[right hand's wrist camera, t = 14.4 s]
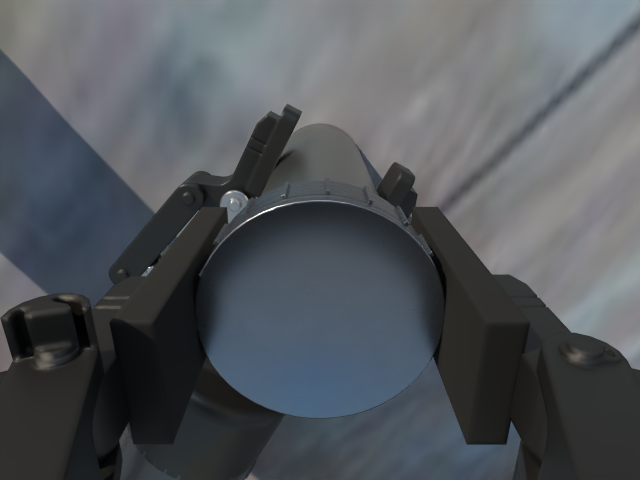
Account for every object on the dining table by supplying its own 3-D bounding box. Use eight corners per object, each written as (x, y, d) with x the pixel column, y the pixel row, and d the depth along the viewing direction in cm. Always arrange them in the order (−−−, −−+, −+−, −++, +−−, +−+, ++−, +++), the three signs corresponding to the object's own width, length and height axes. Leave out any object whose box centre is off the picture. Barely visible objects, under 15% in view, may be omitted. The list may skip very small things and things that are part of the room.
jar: (357, 207, 26) (405, 392, 12) (278, 203, 26) (224, 384, 12) (364, 125, 25) (431, 220, 10) (279, 121, 25) (218, 210, 10)
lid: (462, 331, 12) (483, 371, 11) (272, 404, 13) (265, 450, 12) (381, 136, 10) (392, 150, 9) (165, 236, 11) (140, 265, 10)
